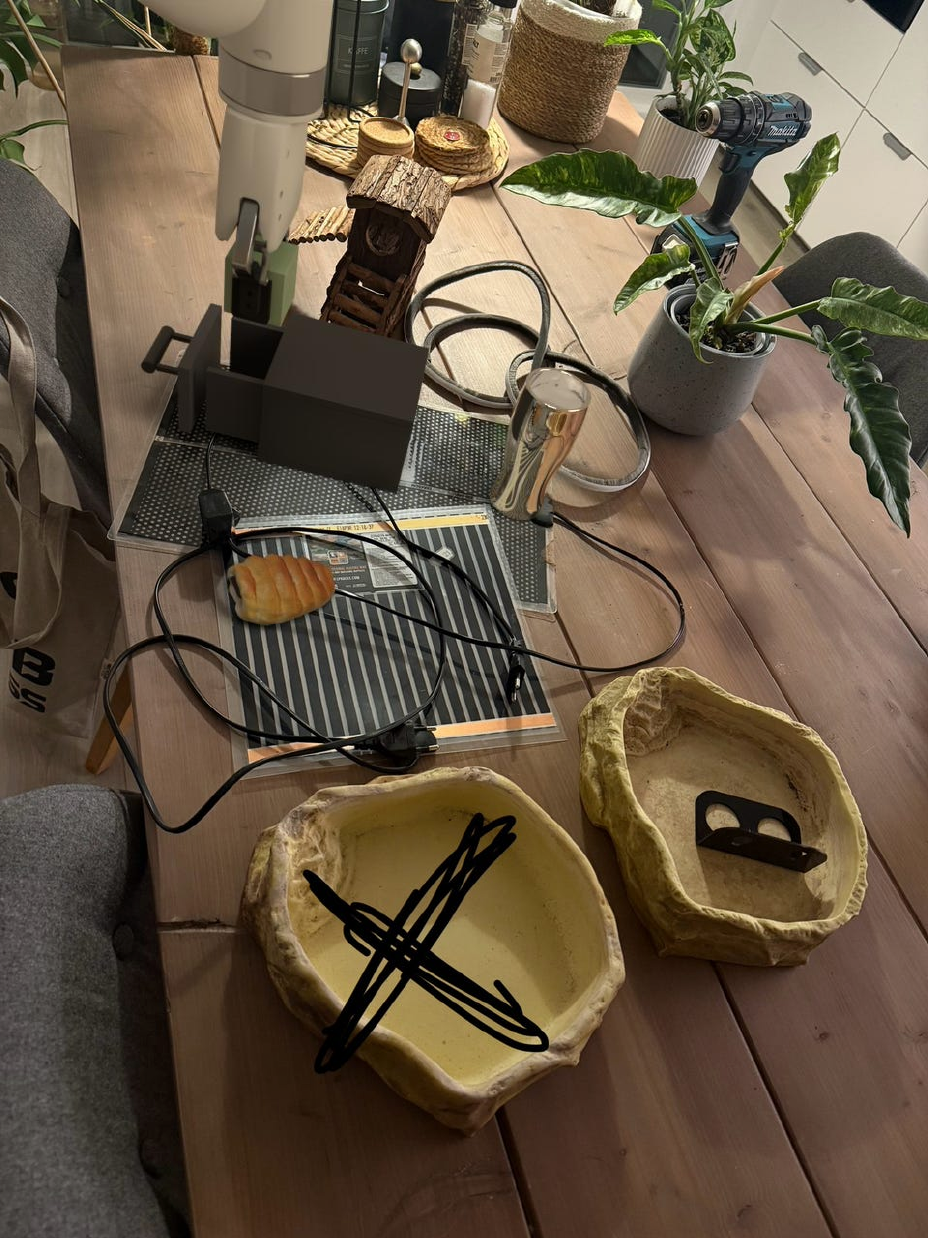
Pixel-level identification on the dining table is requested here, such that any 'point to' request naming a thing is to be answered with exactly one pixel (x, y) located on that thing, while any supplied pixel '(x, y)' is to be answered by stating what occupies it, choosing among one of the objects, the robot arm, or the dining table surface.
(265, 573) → the pastry
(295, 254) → the block
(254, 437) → the drawer
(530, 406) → the beer glass
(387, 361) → the cabinet
